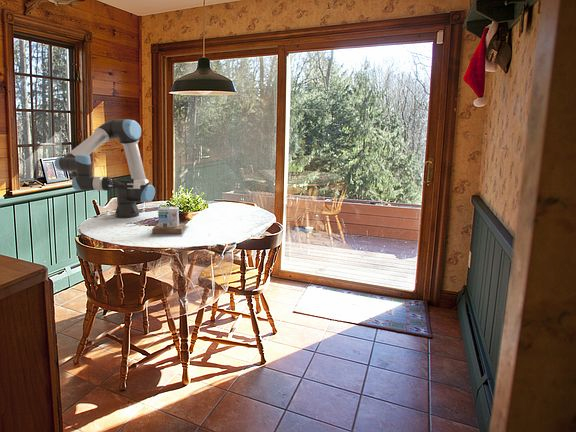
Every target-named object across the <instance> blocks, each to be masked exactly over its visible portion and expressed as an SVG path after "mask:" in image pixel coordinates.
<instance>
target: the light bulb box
mask: <svg viewBox="0 0 576 432" xmlns="http://www.w3.org/2000/svg"><path fill="white" fill-rule="evenodd" d="M179 210H180V209H179V206H160V207H158V209H157V212H158V213H157V218H158V223H159V227H178V225H179V223H180V217H179V216H180V215H179V212H180V211H179Z"/></svg>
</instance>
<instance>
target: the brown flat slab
mask: <svg viewBox="0 0 576 432" xmlns="http://www.w3.org/2000/svg"><path fill="white" fill-rule="evenodd" d="M185 226H186V228H185V230H184V231H183V233H182V234H152V232H151V233H150V234H149V236H148V238H161V237H162V238H166V237H167V238H169V237H170V238H174V237H175V238H176V237H178V238H179V237H182V238H183V235H184V234H185V232H186V231H187V229H188V228H189V225H185Z"/></svg>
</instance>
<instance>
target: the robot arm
mask: <svg viewBox="0 0 576 432" xmlns="http://www.w3.org/2000/svg"><path fill="white" fill-rule="evenodd" d="M141 136H142V128H141V125H140V123H138V122H137V121H136V120H134V119H128V118H127V119H125V118H123V119H121V118H120V119H117V118H115V119H114V118H113V119H110V120H108V121H106V122H104V123H102V124H101V125H99V126H98V127H97V128H95V130H94V132H93V133H92V134H91V135H90V136H88V137H87V138H86V139H84V140H83V141H82V142H81V143H79V144H78V145H77V146H76V147H75V148H73V149H72V150H71V151H69V152H68V153H67V154H66V155H64V156H59V157H57V158H55V160H54V167H55V168H56V170H58V171H63V172H75V173H76V176H73V177H72V179H71V187H72V188H73V190H74V191H75V190H76V191H97V192H100V191H108V192H109V191H111V190H112V189H115V192H116V193H115V194H116V202H117V206H116V209H115V211H114V212H115V213H114V215H115V217H116V218H120V219H121V218H122V219H123V218H125V219H126V218H135V217H139V216H140V211H139V208H138V206H137V202H139V203H151V202H152V201H153V200H154V198H155V195H156V188H155V187H154V185H153V184H150V180H149V178H148V179H147V177H146V173H145V169H144V165H143V160H142V156H141V152H140V149H139V142H140V138H141ZM113 139H118V140H119V143H120V144H121V145H122V146H123V150H124V155H125V158H126V162H127V166H128V169H129V174H130V177H131V179H115V180H112V179H113V178H111V177H110V176H93V175H92V174H93V173H92V160H91V154H92V153H93V152H94V151H95V150H97V149H98V148H99V147H101V146H102V145H103V144H104V143H107V142H108V143H109V141H111V140H113Z"/></svg>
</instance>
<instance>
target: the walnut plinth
mask: <svg viewBox="0 0 576 432" xmlns="http://www.w3.org/2000/svg"><path fill="white" fill-rule="evenodd" d="M186 226H187V225H186V223H185V222H181V223H180V222H179V225H178V227H159V222H158V223H156V224H155V225H154V226H153V227H152V229H151V233H152V234H182V233H183V231H184V230H185V228H186Z"/></svg>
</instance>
